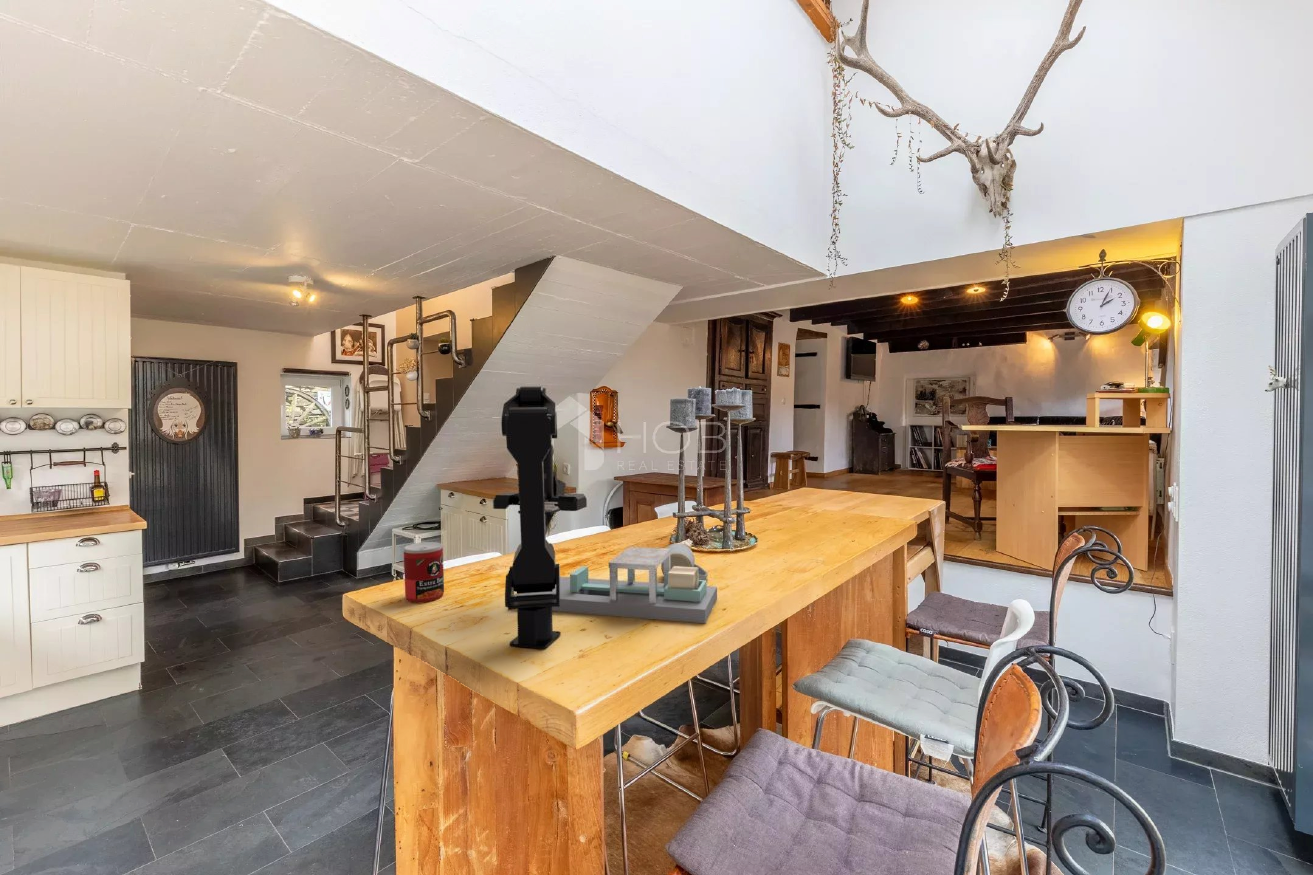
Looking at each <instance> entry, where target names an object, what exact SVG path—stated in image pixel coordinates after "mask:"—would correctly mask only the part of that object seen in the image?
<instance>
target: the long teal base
mask: <svg viewBox="0 0 1313 875" xmlns="http://www.w3.org/2000/svg"><path fill="white" fill-rule="evenodd" d="M569 577H570V592H578V591H579V590H581V589H586V590H600V591H610V585H601V584H588V579H589V566H580V567H578V568H577V569H575V570H574V571H573V572H571V573H570V574H569ZM707 586H708V585H707V579H706V580H699V588H698V590H689V589H674V588H668V584H667V586H666V587H665V588H664V589H662V588H657V594H658V595H664V599H668V600H682V601H696V602H700V601H701V599H702V598H703V596H704V594H705V592H706V591H707ZM618 592H629V593H644V594H649V588H647V587H632V586H618Z"/></svg>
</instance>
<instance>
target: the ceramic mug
mask: <svg viewBox="0 0 1313 875" xmlns="http://www.w3.org/2000/svg"><path fill="white" fill-rule="evenodd" d="M665 549H671V554H670V560H671V569H672V568H673V567H674V566H679V567H698V573H699V580H706V581H707V578H708V572H707V571H706V570H705V569H704V568H703V567H702V566H699V565H698V564H697V563H695V560H696V559H695V555H694V552H693V551H692V549H691V548H690V547H688V546H687V545H686V544H684V543H679V542H675V543H671V544H670V545H668V546H667V547H666V548H665ZM660 569H661V573H662V575H663V576H664V563H663V562H662V563H661V564H660Z"/></svg>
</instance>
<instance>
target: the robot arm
mask: <svg viewBox="0 0 1313 875" xmlns="http://www.w3.org/2000/svg"><path fill="white" fill-rule="evenodd" d="M501 412H502V413H501V421H500V423H501V424H500V426H501V434H502V437H505V438H506V440H505V441H506V442H505V443H506V449H507V451H508V452H509V454H510V455H511V456H512V458H513V459H514V461H515V462H516V463H517V475H518V476H517V477H518V481H517V482H518V491H517V492H515V491H514V492H511V491H506V492H501V493H499V494H496V495H495V496H494V497H493V499H492V509H493V510H506V509H508V508H509V507H510V506H519V510H518V511H517V513H518V514H519V519H520V520H519V525H520V544H518V546H517V548H516V550H515V553H514V556H513V561H512V565H511V566H509V570H508V572H507V574H506V575H505V583H504V584H505V585H504V586H505V588H504V608H507V611H512V610H516V615H517V616H516V618H517V619H516V620H517V636H516V637H515V638H513V639H512V640H511V641H509V646H511V647H519V648H520V647H521V648H531V649H539V650H541V649H542V650H543V649H544V650H545V649H546V648H548V646H549V647H550V645H551V644H552V643H553V642H554V641H555V640H557V639H558V638H559V637H560V636H561V634H562V632H561V631H559V630H553V628H554V627H553V611H552V607H560V577H561V575H560V573H561V572H560V570H561V569H560V563H556V550H555V547H554V545H553V544H552V543H551V542H549V541H548V540H547V539H546V538H547V537H546V535H547V532H548V530H549V527H550V523H551V521H552V519H553V517H554V515H555V514H556V513H558V512H561V511H562V512H564V511H565V512H577V511H579V510H582V509H585V508H587V507H588V505H587V503H588V502H587V496H586V495H585V494H584V493H566V486H567V483H566V482H564V481H562V480H561V479H558V478H557V471H555V470H554V458H553V457H554V454H555V448H554V446H553V444H552V441H553V439H558V418H557V416H558V415H557V411H556V403H555V401H553V400H552V399H551V398H550V397H549V396H548V395H547V388H546V387H543V386H537V385H536V386H535V385H534V386H520V387H516V389H515V394H514V395H513V396H512V397H510V398H509V399H508V400H507V401H506V402H504V403H503V408H502V411H501ZM555 585H556V593H555V594H539V595H523V596H514V595H515V592H516V593H517V594H520V593H536V592H552V591H553V589H555Z"/></svg>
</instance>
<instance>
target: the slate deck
mask: <svg viewBox="0 0 1313 875" xmlns="http://www.w3.org/2000/svg"><path fill="white" fill-rule="evenodd" d="M588 584H601V585H610V579H602V578H601V579H599V578H588ZM618 586H632V587H647V588H649V581H648V582H647V581H635V583H634V584H628V580H618ZM657 588H662V589H664V588H665V587H664V582H663V583H662V582H657ZM555 593H556V585H555V589H553V591H552V592H536V593H520V594H517V592H516V593H514V596H523V595H539V594H555ZM717 600H718V587H717V586H713V585H712V586H711V585H710V586H709V585H707V591H706V592H705V594H704V596H703V598H702V599H701V601H700V602H696V601H682V600H668V599H664V595H658V594H657V603H656V604H649V594H644V593H629V592H618V600H617V601H610V591H600V590H586V589H581V590H579V591H578V592H570V576H569V577H568V576H560V607H552V612H560V613H573V614H584V615H595V616H597V615H598V616H609V617H610V616H611V617H621V618H634V619H635V618H636V619H646V620H647V619H648V620H659V621H669V622H671V621H673V622H682V623H694V624H696V623H698V624H706V623H707V621H708V619H709V616H710V615H711V612H712V611H711V610H713V609H714V606H715V604H716V602H717ZM712 608H713V609H712ZM709 614H710V615H709Z"/></svg>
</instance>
